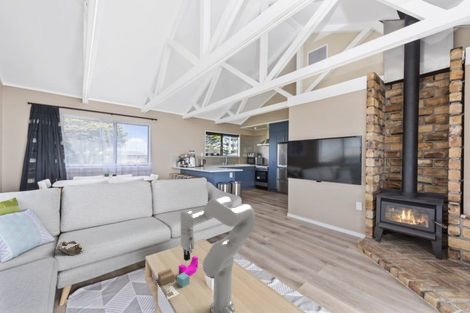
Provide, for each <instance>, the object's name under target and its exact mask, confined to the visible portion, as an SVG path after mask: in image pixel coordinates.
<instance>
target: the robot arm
mask: <svg viewBox="0 0 470 313" xmlns="http://www.w3.org/2000/svg"><path fill="white" fill-rule="evenodd" d="M212 219H215V220H217V221H219V222H220V223H222V224H224V226H227V227H232V229H231V230H230V232H229V233H228V235H227V236H226V237H224V238H222V239H220V240H218V241H216V242H215V243H214V244H213V245H212V246H211V248H210V249H209V251H208V252H207V254H206V256H205V257H204V259H203V262H202V271H203V272H204V274H205V275H206V276H208V277H213V302H212V303H211V304H210V311H211V313H235V312H236V309H235V304H234V302H233V300H232V282H233V281H232V279H233V278H232V272H233V265H234V256H235V255H237V254H238V252H239V251H240V250H241V248H242V247H243V245H244V244H245V243H246V241H247V239H248V238H249V236H250V234H251V233H252V231H254V227H255V225H256V213H255V210H254V208H253V207H252V206H251V205H250V204H248V203H240V204H237V205H235V206H233V201H232V199H231V197H230V196H227V195H221V196H218V197H214V198H211V199H209V201H208V202H207V203H206V204H205V205H204V207H203V209H201V210H197V211H194V212H193V210H192V209H183V210H181V211H180V247H181V248H182V249H183V251H182V253H183V260H184V261H185V262H187V261H191V254H192V253H193V250H194V249H195V236H194V226H197V225H199V224H200V225H201V224H202V223H205V222H207V221H209V220H212Z"/></svg>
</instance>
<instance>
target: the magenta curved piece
mask: <svg viewBox="0 0 470 313" xmlns="http://www.w3.org/2000/svg"><path fill="white" fill-rule="evenodd" d="M198 268H199V257H198V256H196V255H195V256H192V257H191V259H190V263H189V265H186V264H182V263H181V264H179V265H178V275H180V274H182V273H183V272H184V273H185V274H187V275H188V276H189V278H190V277H191V276H193V275H194V274H195V273H196V272H197V269H198Z"/></svg>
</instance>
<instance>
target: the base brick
mask: <svg viewBox="0 0 470 313" xmlns="http://www.w3.org/2000/svg"><path fill="white" fill-rule="evenodd" d="M157 281H158V283H159V284H160V286H161V287H164V286H166V285H168V284H171V283H174V282H175V274H174V272H173V271H172V269H171V268H169V269H165V270H162V271H159V272H157Z"/></svg>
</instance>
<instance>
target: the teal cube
mask: <svg viewBox="0 0 470 313" xmlns="http://www.w3.org/2000/svg"><path fill="white" fill-rule="evenodd" d="M176 285H178V286H180V287H181V288H184V287H186V286H188V285H190V277H189V276H188V275H187V274H185V273H184V272H183V273H182V274H180V275H179V274H178V275H177V276H176Z"/></svg>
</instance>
